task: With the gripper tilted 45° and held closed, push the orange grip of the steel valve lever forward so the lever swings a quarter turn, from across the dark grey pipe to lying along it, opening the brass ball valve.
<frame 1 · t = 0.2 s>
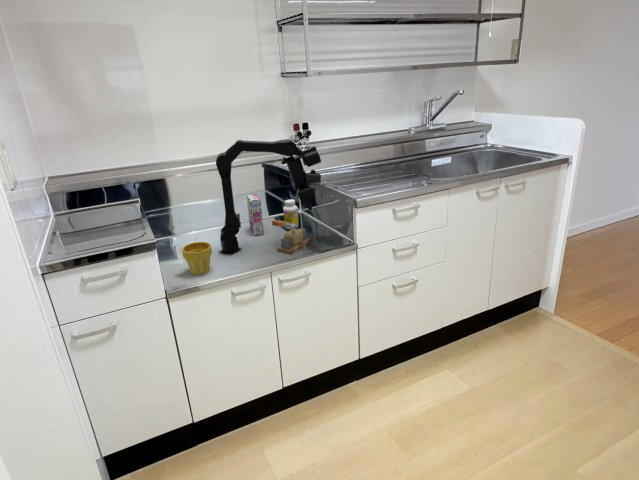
hand: (308, 206, 168), 16 cm above the table, tool pointing down, fingers open, 9 cm apart
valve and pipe: (293, 235, 169), on the walnut mounting plank, point 5 cm above the table
walnut mounting plank: (294, 246, 170), on the table
plant pot: (200, 271, 153), on the table
supplement bottle: (291, 227, 192), on the table
candy bar box: (257, 231, 189), on the table
valve lever: (284, 224, 169), point 9 cm above the table, hinge at 0.0°
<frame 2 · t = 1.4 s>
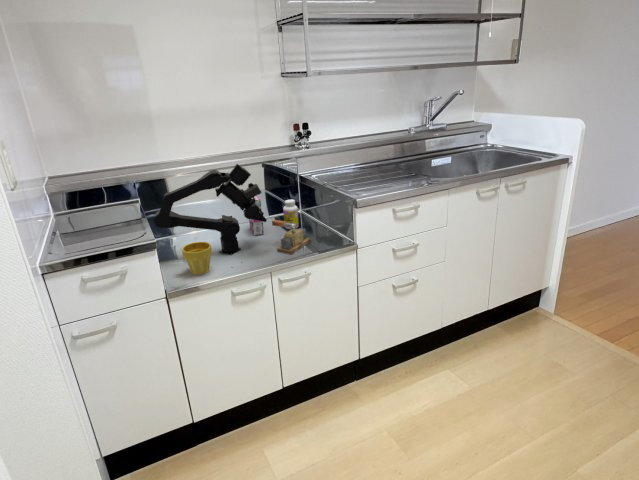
hand: (264, 217, 168), 12 cm above the table, tool tilted 45°, fingers open, 8 cm apart
nothing on the table moved.
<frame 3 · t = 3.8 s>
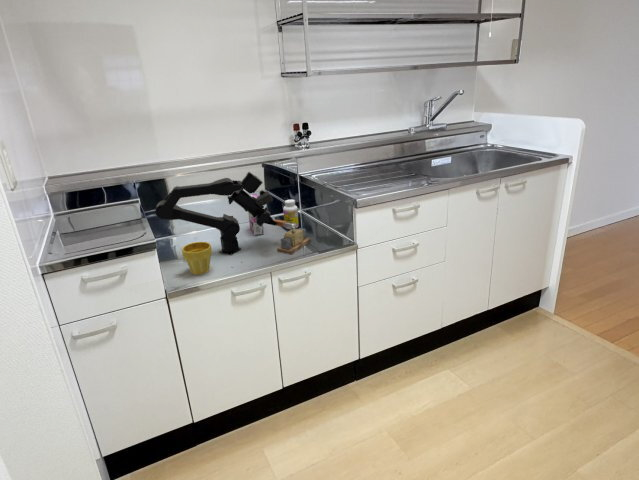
hand: (275, 224, 170), 9 cm above the table, tool tilted 45°, fingers closed
valve lever: (284, 224, 169), point 9 cm above the table, hinge at 4.3°, touching gripper
everything else where it was.
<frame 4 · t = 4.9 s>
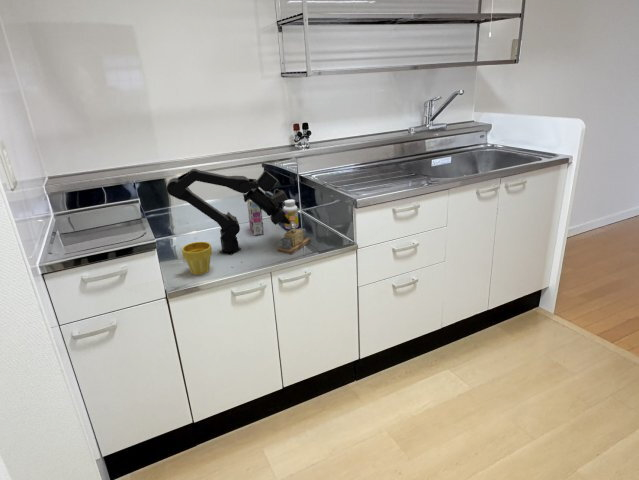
hand: (289, 223, 172), 9 cm above the table, tool tilted 45°, fingers closed
valve lever: (292, 222, 171), point 9 cm above the table, hinge at 54.9°, touching gripper
everything else where it was.
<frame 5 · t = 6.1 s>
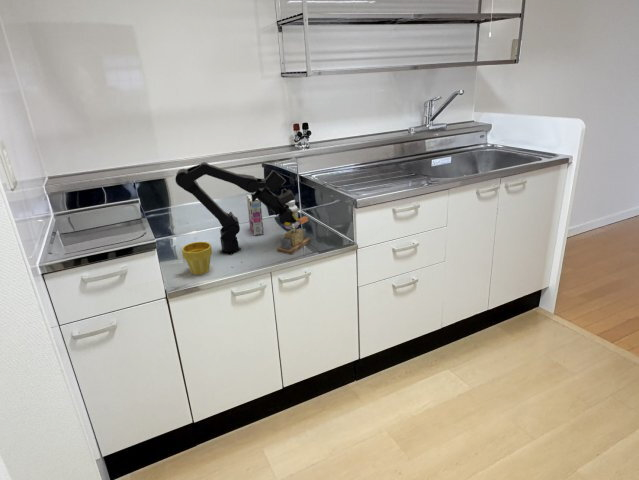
hand: (296, 222, 172), 8 cm above the table, tool tilted 45°, fingers closed
valve lever: (298, 222, 170), point 9 cm above the table, hinge at 92.4°, touching gripper
everything else where it was.
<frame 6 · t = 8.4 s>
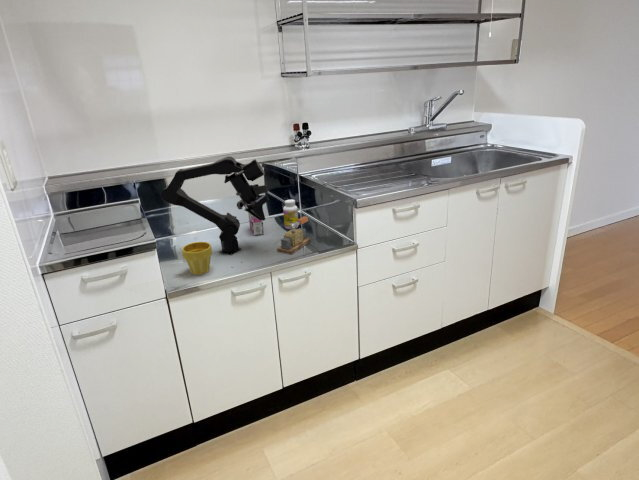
hand: (263, 220, 165), 13 cm above the table, tool tilted 25°, fingers closed
valve lever: (298, 222, 170), point 9 cm above the table, hinge at 92.4°
everything else where it was.
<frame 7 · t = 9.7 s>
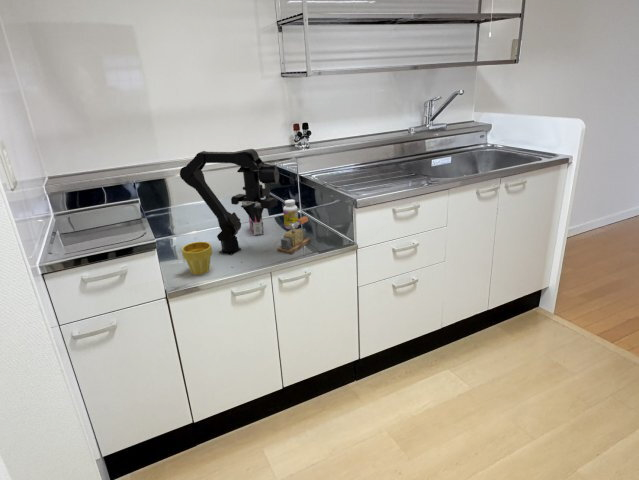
hand: (256, 222, 162), 13 cm above the table, tool pointing down, fingers closed
nothing on the table moved.
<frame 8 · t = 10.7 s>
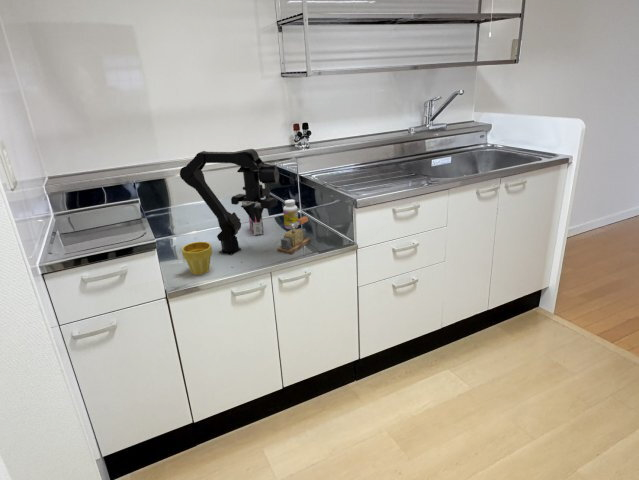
hand: (256, 222, 162), 13 cm above the table, tool pointing down, fingers closed
nothing on the table moved.
at the end: valve lever at +92° (first picture: +0°) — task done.
